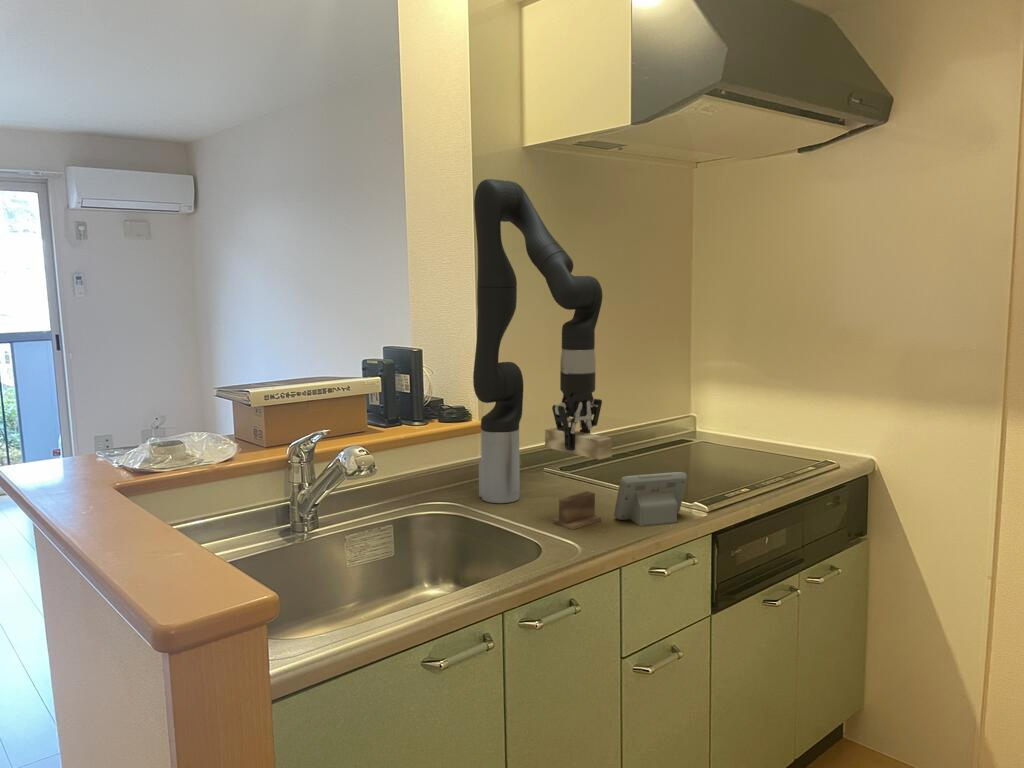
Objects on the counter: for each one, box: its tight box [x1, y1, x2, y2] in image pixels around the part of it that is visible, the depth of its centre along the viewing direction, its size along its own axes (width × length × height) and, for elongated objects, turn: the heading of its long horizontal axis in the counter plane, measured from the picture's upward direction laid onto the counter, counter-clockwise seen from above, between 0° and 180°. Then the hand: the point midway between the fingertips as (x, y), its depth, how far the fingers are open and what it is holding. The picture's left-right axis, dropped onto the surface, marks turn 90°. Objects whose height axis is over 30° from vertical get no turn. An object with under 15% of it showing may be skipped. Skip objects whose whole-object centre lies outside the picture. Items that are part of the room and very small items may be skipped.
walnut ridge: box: [552, 490, 602, 530], centre depth 171 cm, size 6×9×6 cm, turn 133°
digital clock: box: [613, 471, 688, 527], centre depth 172 cm, size 16×9×11 cm, turn 94°
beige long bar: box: [544, 426, 613, 460], centre depth 169 cm, size 16×4×4 cm, turn 42°
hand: (577, 447), depth 169 cm, fingers closed on beige long bar, 4 cm apart
